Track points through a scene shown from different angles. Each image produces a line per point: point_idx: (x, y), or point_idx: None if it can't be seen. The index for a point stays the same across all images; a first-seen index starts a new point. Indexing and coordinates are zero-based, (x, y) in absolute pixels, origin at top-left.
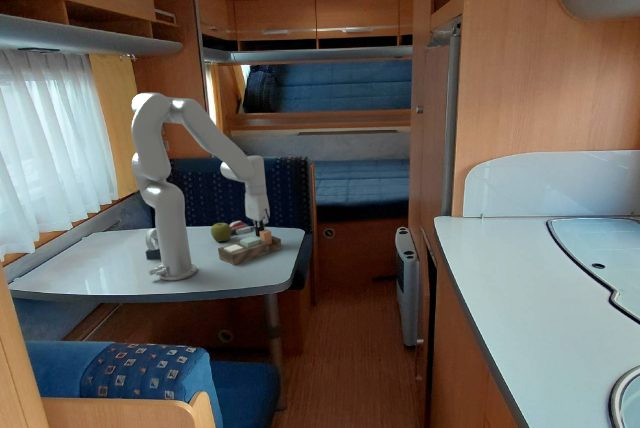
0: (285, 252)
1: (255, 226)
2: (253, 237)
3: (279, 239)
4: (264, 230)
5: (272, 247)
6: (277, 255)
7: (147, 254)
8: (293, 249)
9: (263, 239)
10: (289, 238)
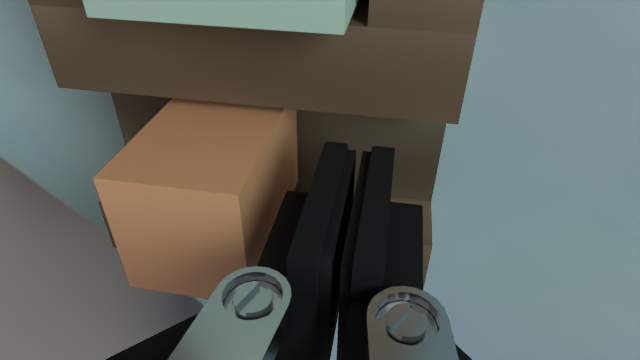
0: (69, 142)
1: (372, 277)
2: (263, 24)
3: (109, 233)
4: (232, 268)
5: (118, 105)
6: (33, 49)
7: None
8: (99, 217)
9: (183, 119)
10: (335, 343)
